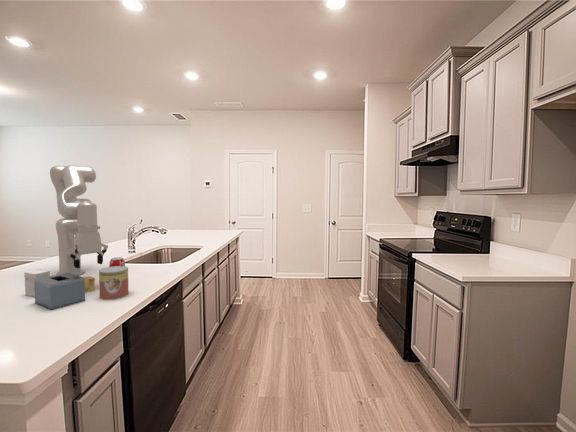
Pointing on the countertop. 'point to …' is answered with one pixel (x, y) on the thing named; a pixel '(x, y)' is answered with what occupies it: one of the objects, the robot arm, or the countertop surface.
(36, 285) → the grey block
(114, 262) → the soda can
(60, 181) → the robot arm
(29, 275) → the small box
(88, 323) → the countertop surface
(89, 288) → the golden tan rectangular block
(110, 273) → the canned food
